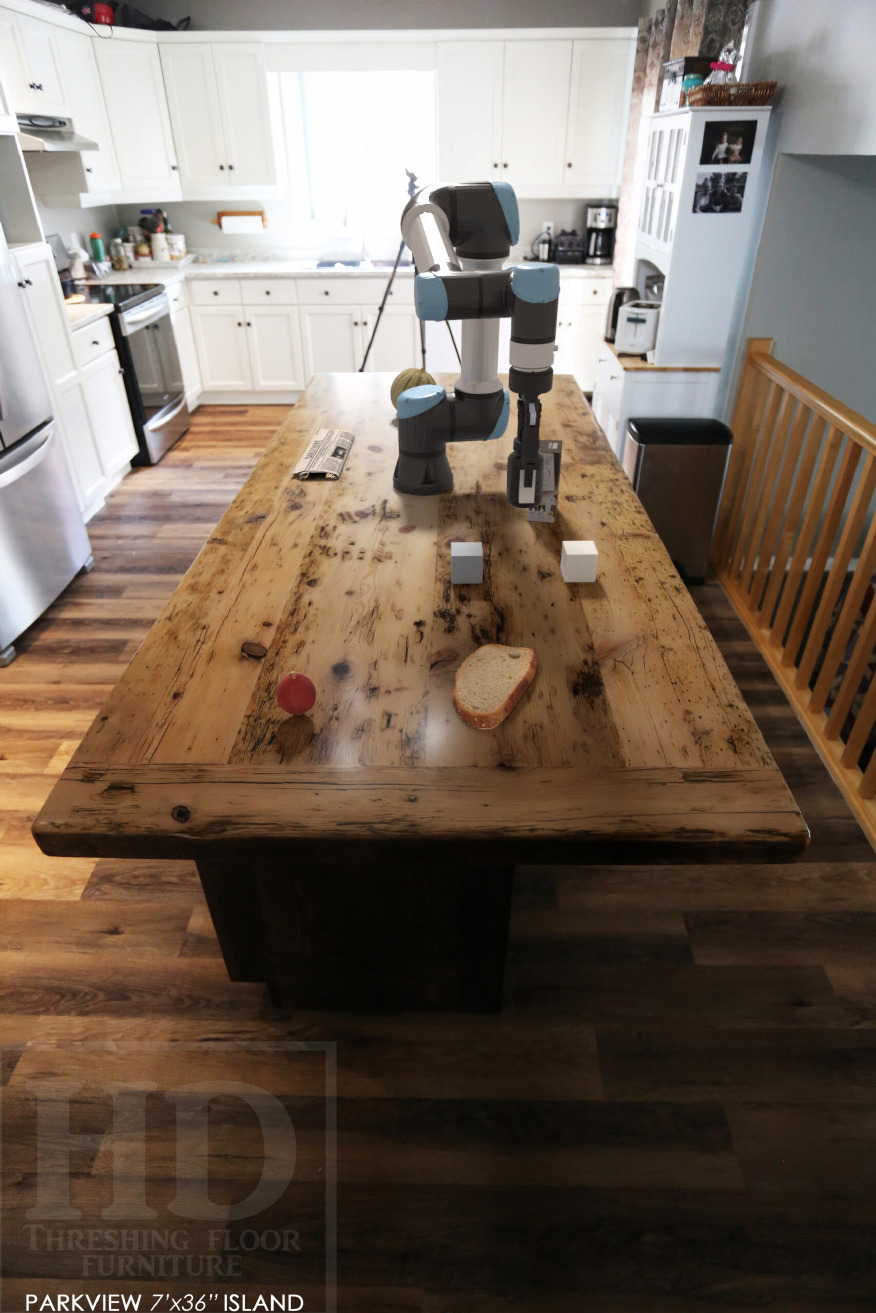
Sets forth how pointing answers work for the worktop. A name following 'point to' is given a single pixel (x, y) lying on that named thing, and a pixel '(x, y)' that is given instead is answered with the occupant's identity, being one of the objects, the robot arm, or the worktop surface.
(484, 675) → the bread slice
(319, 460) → the newspaper
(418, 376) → the cantaloupe
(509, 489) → the supplement bottle
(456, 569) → the slate-grey block
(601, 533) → the worktop surface
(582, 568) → the off-white block
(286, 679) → the onion
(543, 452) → the coffee box
